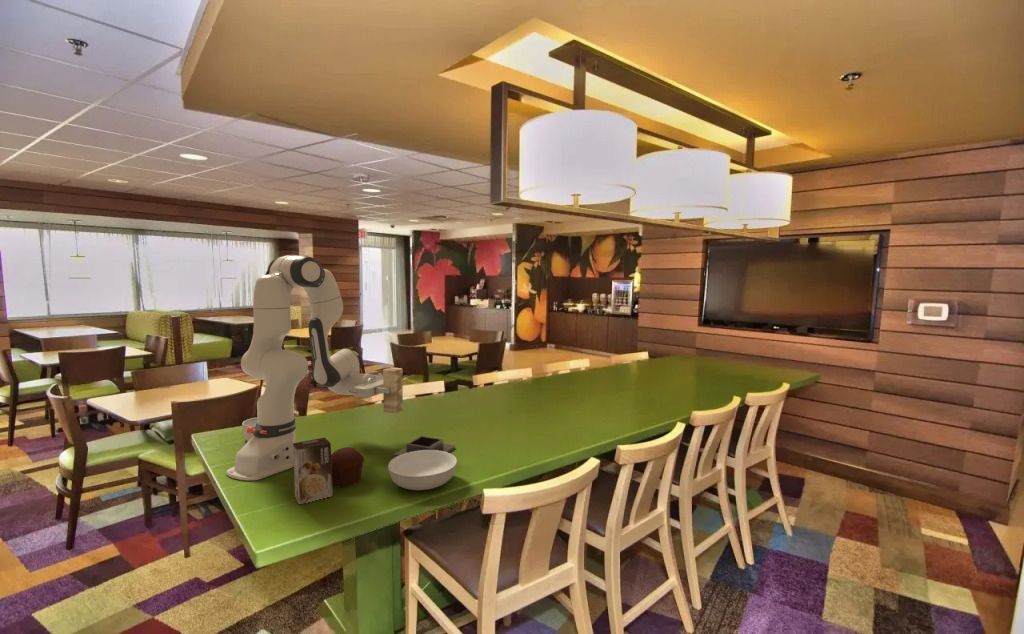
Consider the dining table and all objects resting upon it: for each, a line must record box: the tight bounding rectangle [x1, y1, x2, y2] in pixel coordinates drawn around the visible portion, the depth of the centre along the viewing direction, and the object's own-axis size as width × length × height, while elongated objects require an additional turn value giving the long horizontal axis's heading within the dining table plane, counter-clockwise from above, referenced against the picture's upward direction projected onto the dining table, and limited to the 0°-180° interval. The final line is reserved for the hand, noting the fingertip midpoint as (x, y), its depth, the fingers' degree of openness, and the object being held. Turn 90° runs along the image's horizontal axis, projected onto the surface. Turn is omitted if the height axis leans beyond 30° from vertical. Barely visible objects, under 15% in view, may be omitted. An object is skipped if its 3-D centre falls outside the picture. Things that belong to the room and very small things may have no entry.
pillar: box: [382, 367, 404, 414], centre depth 172 cm, size 5×5×16 cm
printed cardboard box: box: [293, 437, 334, 505], centre depth 132 cm, size 9×6×16 cm
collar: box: [393, 435, 456, 458], centre depth 168 cm, size 16×16×4 cm
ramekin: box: [241, 417, 258, 442], centre depth 181 cm, size 13×13×7 cm
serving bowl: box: [387, 450, 458, 491], centre depth 142 cm, size 21×21×7 cm
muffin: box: [331, 447, 365, 488], centre depth 143 cm, size 12×11×10 cm
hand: (395, 389), depth 172 cm, fingers closed on pillar, 5 cm apart
